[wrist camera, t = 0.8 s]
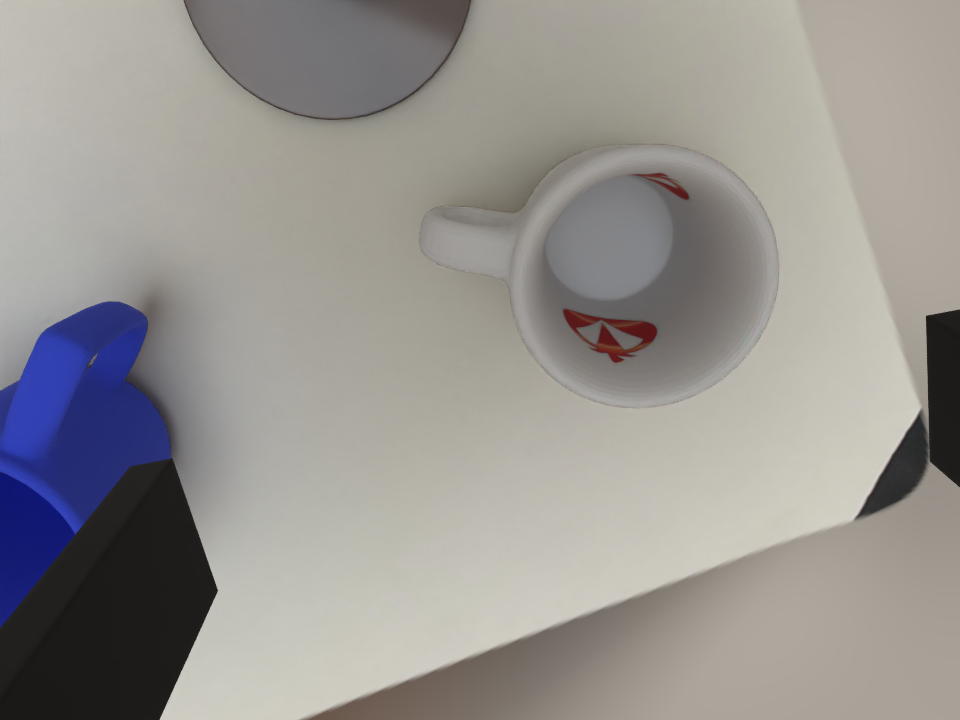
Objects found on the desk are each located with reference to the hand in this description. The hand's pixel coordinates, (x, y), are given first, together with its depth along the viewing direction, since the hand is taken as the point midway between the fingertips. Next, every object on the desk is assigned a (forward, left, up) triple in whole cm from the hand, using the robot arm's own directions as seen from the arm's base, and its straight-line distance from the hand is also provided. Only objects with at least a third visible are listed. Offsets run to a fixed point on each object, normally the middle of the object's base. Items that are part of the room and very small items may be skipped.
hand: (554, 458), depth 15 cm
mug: (+17, -2, -19) cm, 26 cm away
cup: (-2, +1, -19) cm, 19 cm away
